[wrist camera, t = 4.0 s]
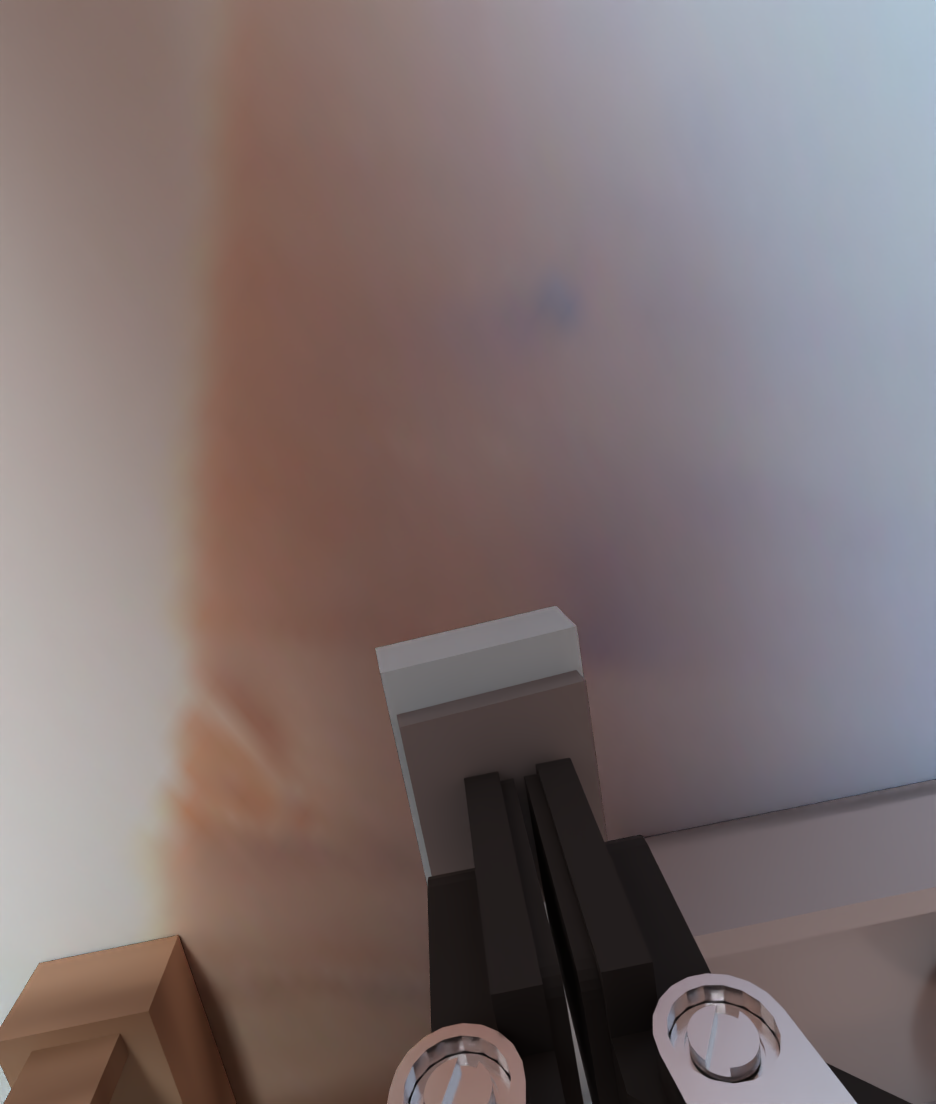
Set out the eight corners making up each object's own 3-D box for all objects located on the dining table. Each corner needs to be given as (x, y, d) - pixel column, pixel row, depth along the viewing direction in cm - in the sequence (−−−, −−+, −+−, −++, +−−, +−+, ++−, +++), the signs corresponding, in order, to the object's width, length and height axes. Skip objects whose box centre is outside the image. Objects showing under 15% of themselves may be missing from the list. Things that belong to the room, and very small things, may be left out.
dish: (618, 842, 17) (680, 986, 13) (1090, 748, 17) (1285, 860, 13) (659, 1155, 20) (720, 1349, 16) (1064, 1067, 20) (1220, 1236, 16)
